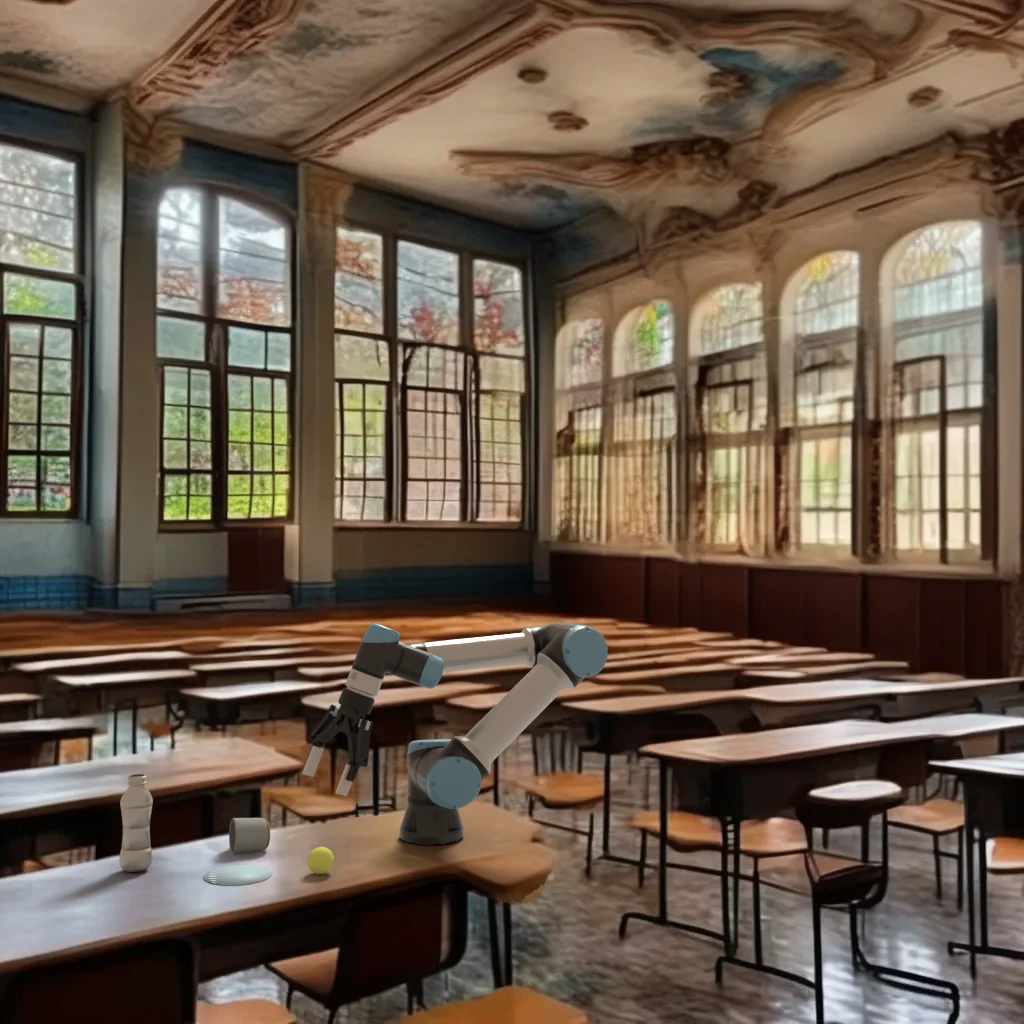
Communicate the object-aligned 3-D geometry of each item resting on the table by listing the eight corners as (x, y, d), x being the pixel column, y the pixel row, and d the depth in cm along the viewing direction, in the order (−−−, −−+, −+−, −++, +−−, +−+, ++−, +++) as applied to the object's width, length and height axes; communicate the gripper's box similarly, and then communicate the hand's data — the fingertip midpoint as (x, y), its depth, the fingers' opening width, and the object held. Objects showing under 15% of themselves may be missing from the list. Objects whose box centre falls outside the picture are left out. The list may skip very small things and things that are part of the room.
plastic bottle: (158, 870, 235) (159, 775, 235) (128, 877, 230) (130, 780, 230) (142, 864, 239) (144, 771, 240) (113, 871, 234) (115, 775, 235)
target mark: (276, 865, 239) (276, 864, 239) (268, 884, 225) (268, 883, 225) (209, 866, 238) (209, 865, 238) (197, 886, 224) (197, 885, 224)
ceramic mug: (271, 853, 249) (271, 818, 249) (234, 857, 245) (235, 822, 246) (260, 842, 258) (260, 809, 259) (224, 846, 255) (225, 812, 255)
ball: (334, 869, 236) (335, 843, 236) (333, 877, 231) (333, 850, 231) (308, 870, 236) (308, 844, 236) (306, 877, 230) (306, 851, 230)
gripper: (316, 674, 252) (281, 764, 249) (379, 702, 234) (342, 799, 230) (342, 683, 257) (307, 771, 254) (405, 711, 239) (369, 806, 235)
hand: (323, 784), depth 242 cm, fingers open, 13 cm apart
